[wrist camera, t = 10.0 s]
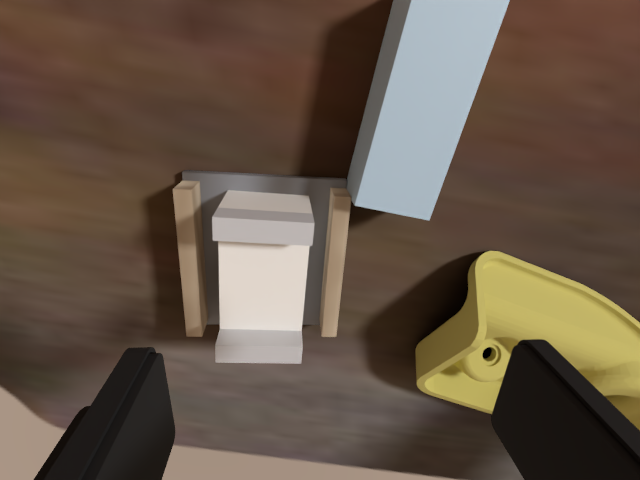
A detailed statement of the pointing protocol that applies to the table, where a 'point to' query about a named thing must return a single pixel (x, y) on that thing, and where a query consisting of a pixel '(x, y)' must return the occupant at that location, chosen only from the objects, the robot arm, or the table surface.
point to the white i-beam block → (262, 275)
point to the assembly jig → (202, 252)
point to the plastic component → (529, 335)
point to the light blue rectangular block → (420, 101)
